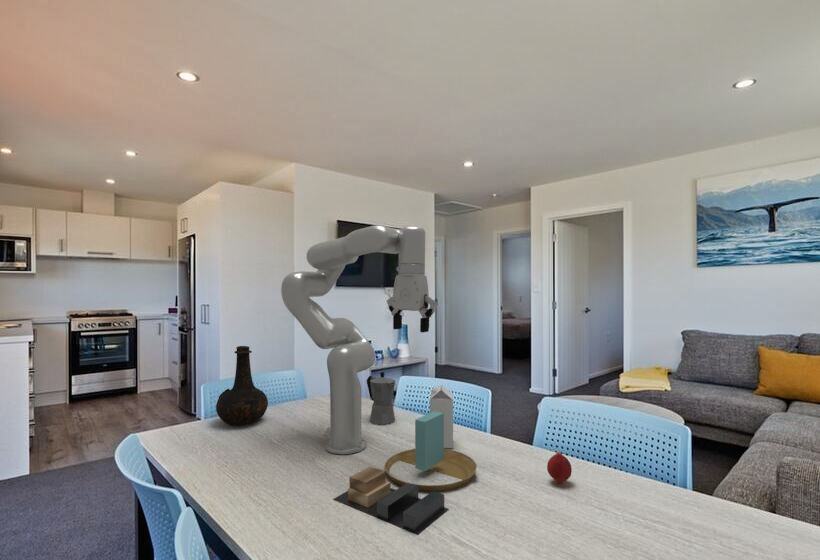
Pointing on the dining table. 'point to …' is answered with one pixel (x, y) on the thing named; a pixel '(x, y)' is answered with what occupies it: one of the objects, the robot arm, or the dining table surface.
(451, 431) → the milk carton
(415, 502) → the rack
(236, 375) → the glass bottle
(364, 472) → the offcut high
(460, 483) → the plant saucer
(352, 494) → the offcut low
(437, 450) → the teal board
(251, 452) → the dining table surface
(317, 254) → the robot arm
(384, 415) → the coffeepot
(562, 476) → the onion
